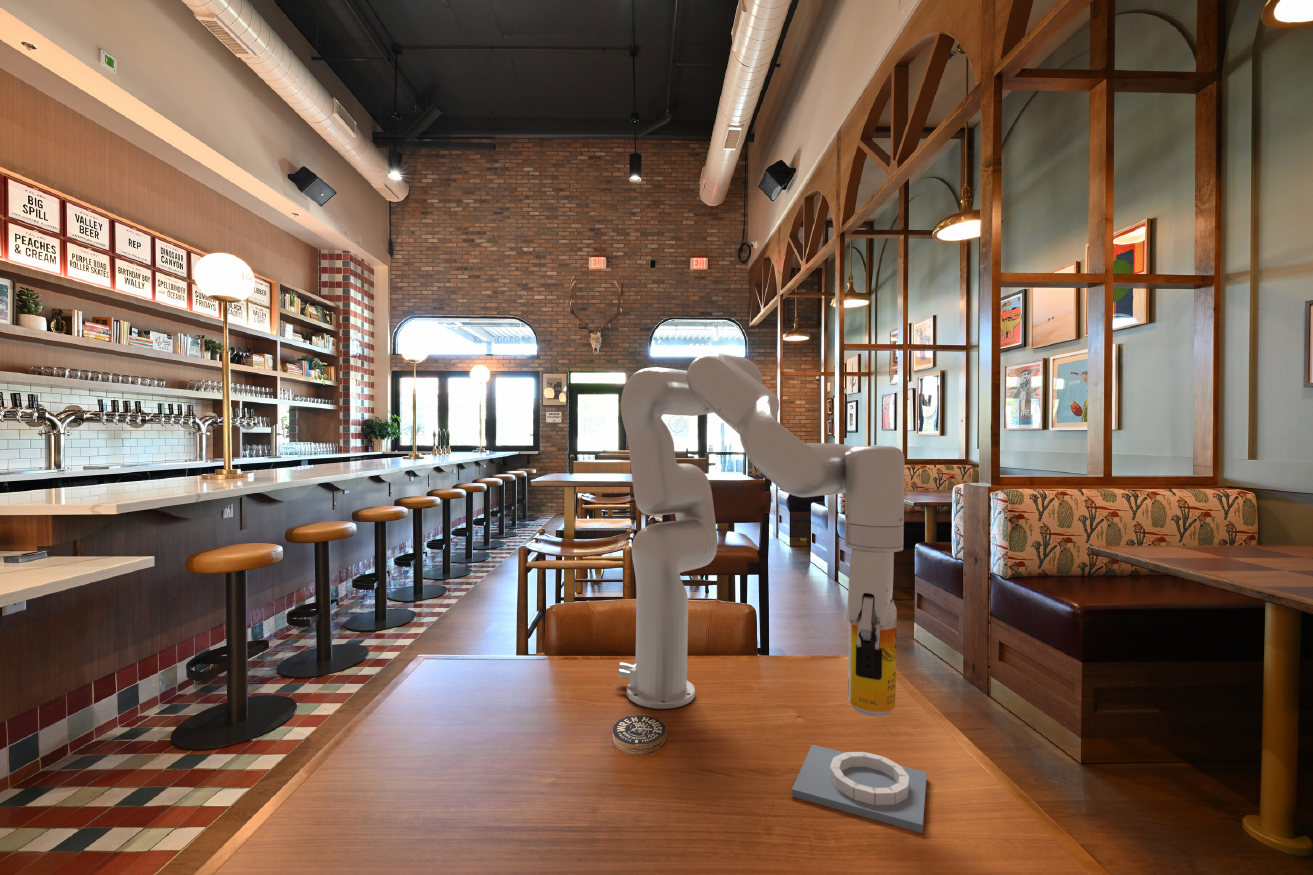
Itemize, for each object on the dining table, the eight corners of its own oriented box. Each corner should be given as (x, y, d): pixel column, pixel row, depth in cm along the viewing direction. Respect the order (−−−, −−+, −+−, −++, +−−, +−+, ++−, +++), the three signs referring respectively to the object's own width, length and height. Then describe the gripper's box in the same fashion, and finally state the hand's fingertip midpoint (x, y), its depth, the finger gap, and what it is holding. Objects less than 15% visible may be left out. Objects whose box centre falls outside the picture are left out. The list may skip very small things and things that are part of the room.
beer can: (899, 720, 79) (900, 605, 79) (850, 715, 80) (852, 602, 80) (890, 700, 85) (892, 593, 85) (845, 696, 86) (847, 591, 86)
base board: (791, 796, 81) (792, 777, 81) (812, 750, 92) (812, 734, 92) (922, 833, 74) (922, 812, 74) (926, 778, 85) (926, 761, 85)
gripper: (854, 526, 92) (852, 644, 92) (834, 544, 76) (832, 686, 76) (907, 530, 88) (905, 652, 88) (898, 549, 73) (895, 698, 73)
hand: (871, 667), depth 82 cm, fingers closed on beer can, 6 cm apart
